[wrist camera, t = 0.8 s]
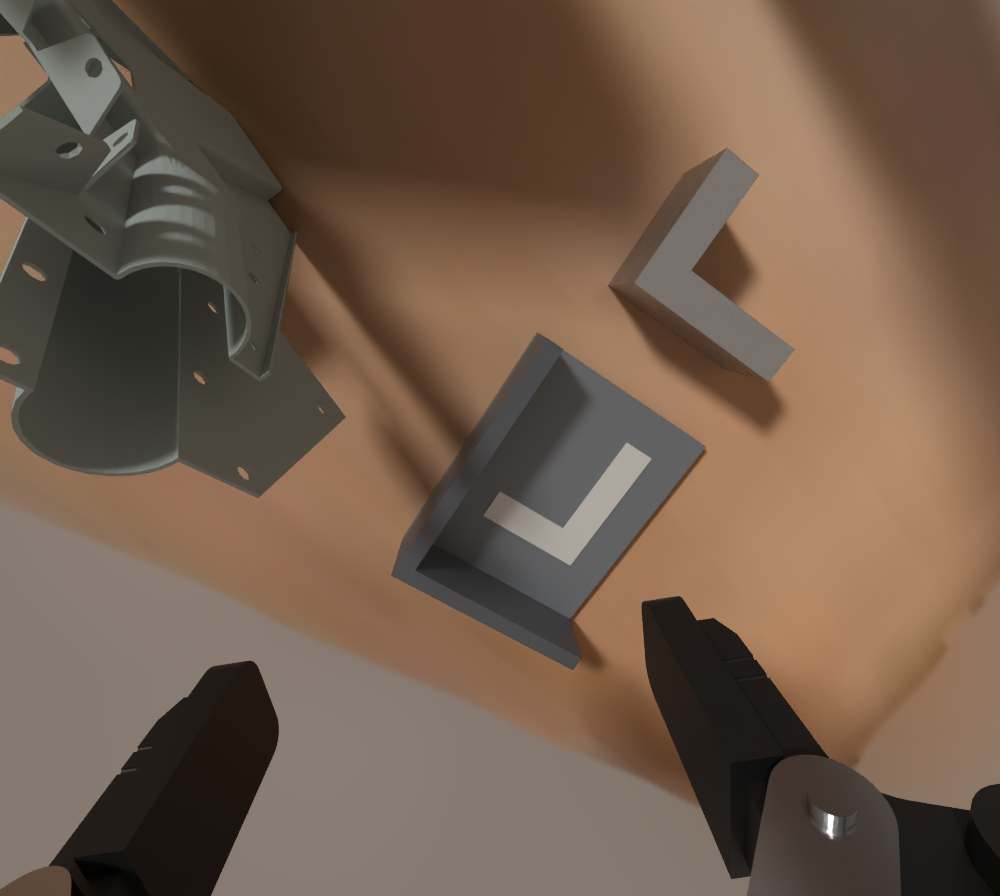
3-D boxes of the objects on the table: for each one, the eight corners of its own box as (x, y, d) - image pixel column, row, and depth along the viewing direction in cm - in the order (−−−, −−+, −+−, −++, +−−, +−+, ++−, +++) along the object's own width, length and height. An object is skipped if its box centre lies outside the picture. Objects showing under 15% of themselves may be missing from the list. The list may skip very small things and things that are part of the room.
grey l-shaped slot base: (537, 332, 29) (547, 338, 25) (701, 444, 32) (737, 467, 28) (402, 538, 33) (391, 575, 29) (560, 623, 35) (572, 670, 31)
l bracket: (608, 285, 29) (634, 282, 24) (683, 173, 27) (727, 147, 22) (723, 368, 31) (768, 381, 26) (799, 268, 29) (863, 262, 24)
